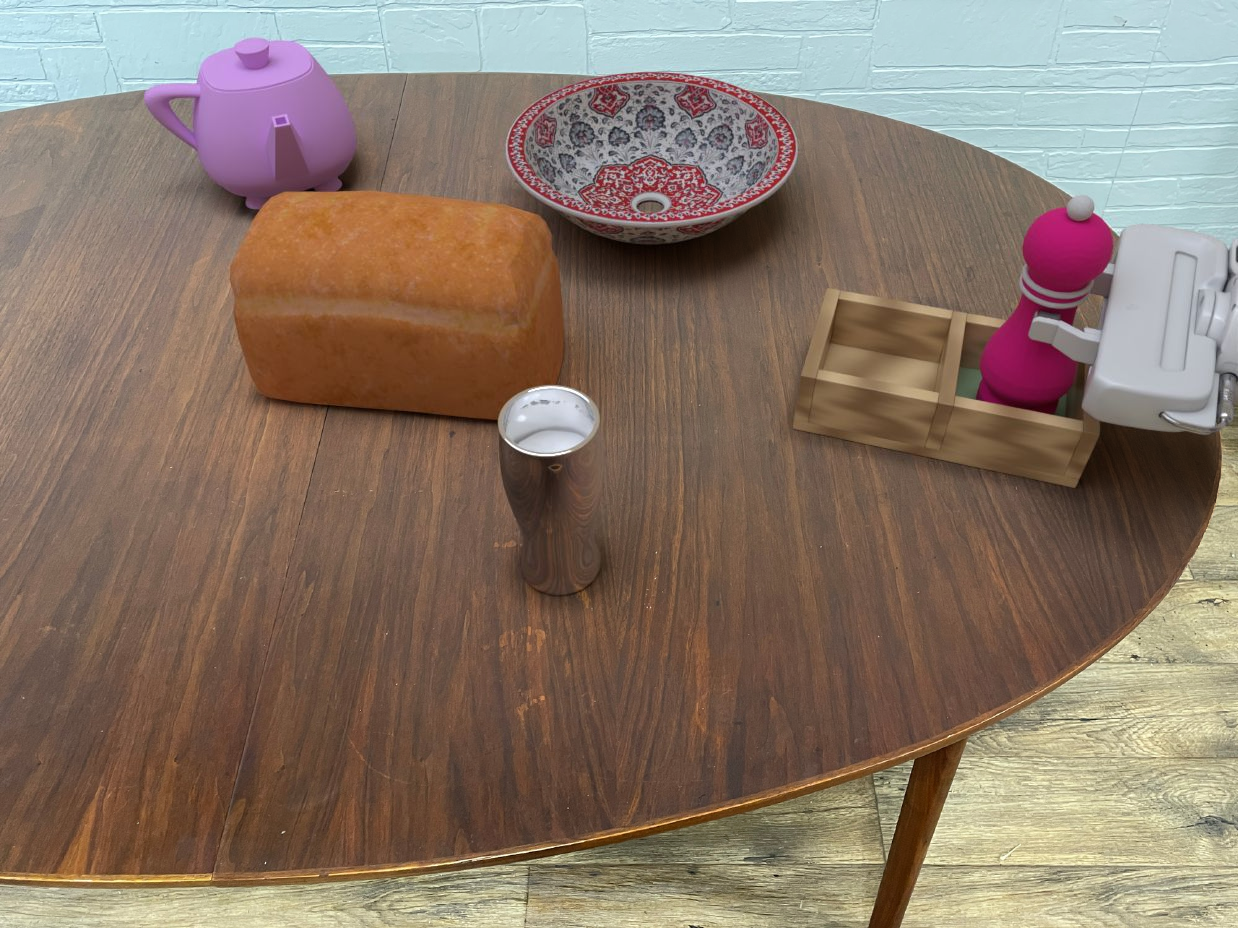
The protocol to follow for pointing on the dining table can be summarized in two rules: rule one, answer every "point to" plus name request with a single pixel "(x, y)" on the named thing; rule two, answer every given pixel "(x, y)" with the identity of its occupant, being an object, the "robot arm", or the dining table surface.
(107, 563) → the dining table surface
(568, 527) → the metal cup
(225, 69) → the teapot
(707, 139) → the ceramic bowl
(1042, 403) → the pepper mill
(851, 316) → the divided wooden box
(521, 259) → the bread
